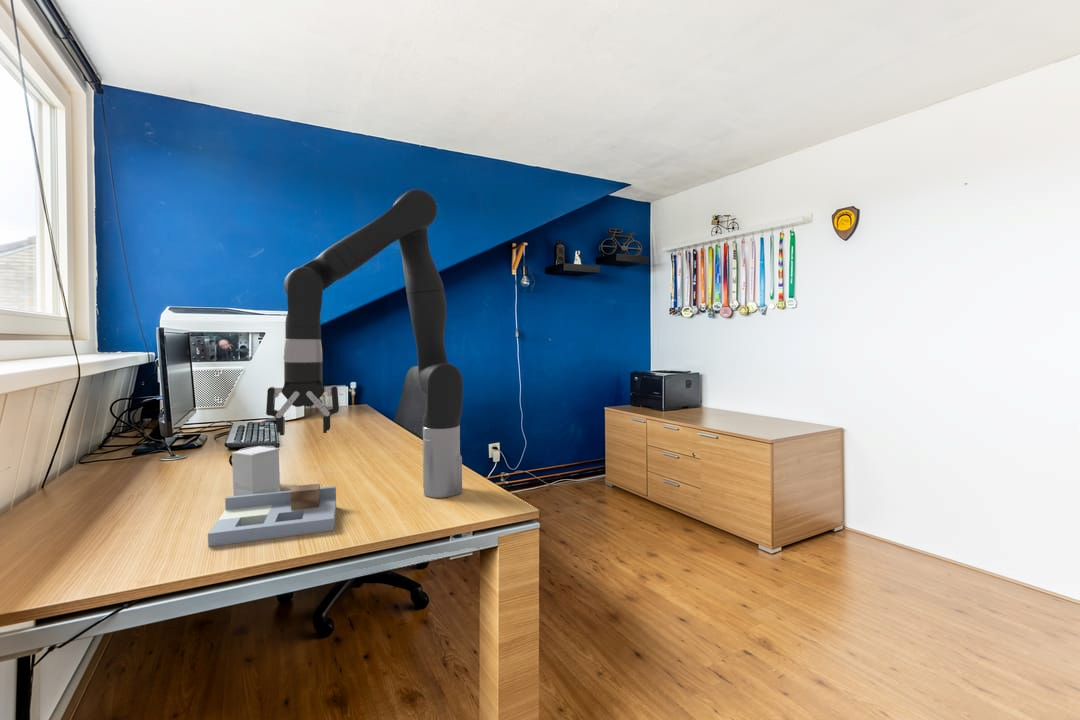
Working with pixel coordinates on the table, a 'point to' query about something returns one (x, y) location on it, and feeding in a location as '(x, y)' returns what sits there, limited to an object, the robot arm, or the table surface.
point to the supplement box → (255, 471)
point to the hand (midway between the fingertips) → (303, 433)
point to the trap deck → (271, 517)
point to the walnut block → (305, 496)
